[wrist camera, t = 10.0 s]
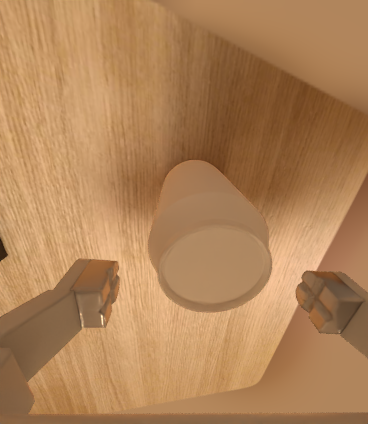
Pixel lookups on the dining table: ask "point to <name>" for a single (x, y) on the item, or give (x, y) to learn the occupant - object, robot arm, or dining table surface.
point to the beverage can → (208, 241)
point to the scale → (2, 251)
